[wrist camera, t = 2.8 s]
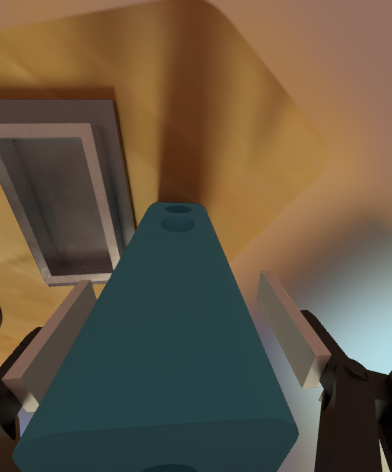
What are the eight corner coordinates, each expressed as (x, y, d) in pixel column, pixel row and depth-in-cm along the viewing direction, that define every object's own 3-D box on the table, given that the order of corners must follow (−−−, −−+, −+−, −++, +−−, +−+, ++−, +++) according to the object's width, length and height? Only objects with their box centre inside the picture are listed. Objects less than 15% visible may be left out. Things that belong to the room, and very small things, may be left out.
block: (156, 186, 21) (-10, 437, 3) (200, 188, 21) (313, 414, 3) (159, 274, 26) (108, 567, 8) (194, 274, 26) (226, 550, 8)
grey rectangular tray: (53, 281, 25) (38, 297, 22) (-23, 102, 17) (-62, 92, 14) (144, 276, 26) (139, 291, 23) (115, 102, 17) (103, 93, 15)
